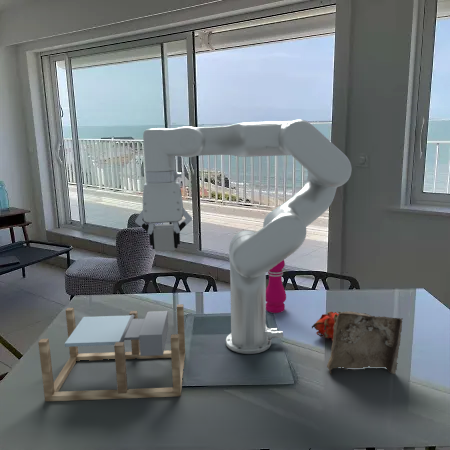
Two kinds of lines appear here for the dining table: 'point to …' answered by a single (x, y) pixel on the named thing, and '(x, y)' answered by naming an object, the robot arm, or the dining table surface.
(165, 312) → the trapdoor
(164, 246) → the light grey block
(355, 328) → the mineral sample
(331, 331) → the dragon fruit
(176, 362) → the frame
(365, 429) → the dining table surface
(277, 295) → the pepper mill
